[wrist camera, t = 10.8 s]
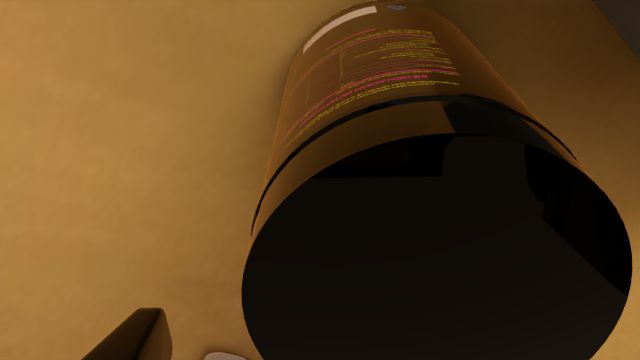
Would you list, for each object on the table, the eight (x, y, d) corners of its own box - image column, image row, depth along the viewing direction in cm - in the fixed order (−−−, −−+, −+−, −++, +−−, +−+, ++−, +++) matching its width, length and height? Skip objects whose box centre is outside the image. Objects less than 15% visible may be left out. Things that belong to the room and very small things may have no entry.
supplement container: (355, 208, 20) (377, 466, 11) (243, 75, 18) (157, 274, 9) (512, 113, 18) (690, 338, 9) (412, -54, 16) (525, 35, 7)
